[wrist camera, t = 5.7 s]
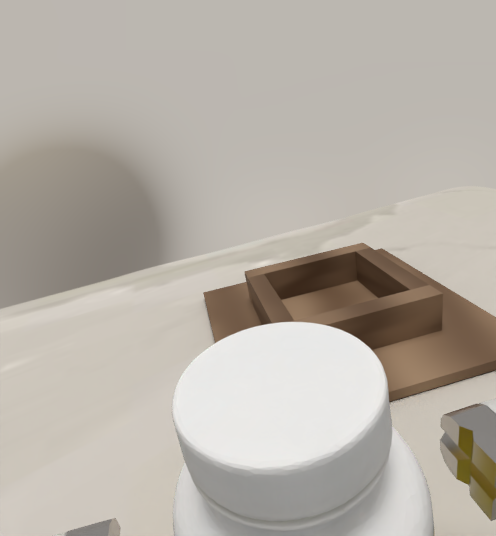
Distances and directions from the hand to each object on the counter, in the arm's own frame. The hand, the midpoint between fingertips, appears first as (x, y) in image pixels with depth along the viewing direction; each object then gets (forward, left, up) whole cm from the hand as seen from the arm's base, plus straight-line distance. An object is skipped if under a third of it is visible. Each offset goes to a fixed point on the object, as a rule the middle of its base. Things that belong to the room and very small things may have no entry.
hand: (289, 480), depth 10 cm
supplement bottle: (0, -1, -6) cm, 6 cm away
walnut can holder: (+7, +15, -6) cm, 18 cm away
